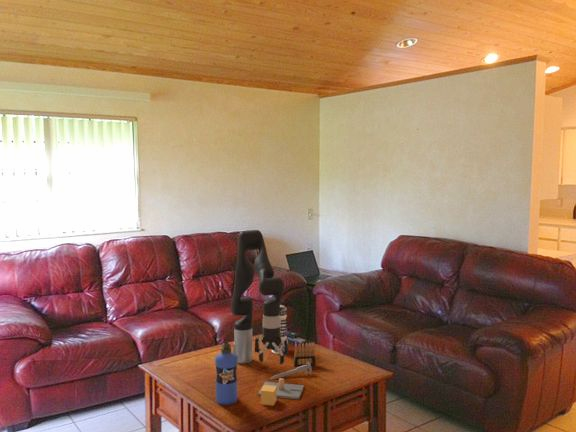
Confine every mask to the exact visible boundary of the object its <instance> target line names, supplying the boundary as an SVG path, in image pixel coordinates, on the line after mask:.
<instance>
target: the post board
mask: <svg viewBox="0 0 576 432" xmlns="http://www.w3.org/2000/svg"><path fill="white" fill-rule="evenodd" d="M264 385H270V386H277V398H279V399H280V398H282V399H292V400H300V397H301V395H302V393H303V391H304V388H305V385H303V384H295V383H285V378H283V377H280V378H278V382H274V381H273V382H272V381H270V382H269V381H264V383H263V384H262V386H261V387H260V390H259V391H258V394H257V395H258V396H259V397H261V389H262V388H263V386H264Z"/></svg>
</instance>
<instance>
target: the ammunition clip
mask: <svg viewBox="0 0 576 432" xmlns="http://www.w3.org/2000/svg"><path fill="white" fill-rule="evenodd" d="M315 348H316V347H315V342H314V341H313V342H312V343H311V342H309V344H308V342H302V344H301V343H300V342H298V344H297V342H295V344H294V352H293V353H294V356H293V357H294V360H293V367H294V368H297V367H300V366H303V365H306V363H307V364H308V362H309V364H311V367H315V366H316V349H315Z"/></svg>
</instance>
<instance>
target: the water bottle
mask: <svg viewBox="0 0 576 432" xmlns="http://www.w3.org/2000/svg"><path fill="white" fill-rule="evenodd" d="M231 346H232V345H231V344H230V343H229V342H227V341H226V342H223V344H222V345H221V350H220V352H221V353H218V354H217V355H215V356H214V357H215V359H214V362H215V363H214V364H215V371H216V377H215V378H216V380H215V401H216V403H217V404H218V405H221V406H229V405H233V404H235V403H237V401H238V376H237V370H238V369H237V368H238V363H237V355H236V354H233V352H232V347H231Z"/></svg>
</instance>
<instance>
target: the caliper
mask: <svg viewBox="0 0 576 432" xmlns="http://www.w3.org/2000/svg"><path fill="white" fill-rule="evenodd" d="M312 368H313V366H311V364H309V362H308V364H307V363H306V365H303V366H300V367H295V368H294V369H290V370H288V371H287V370H286V371H284V372H281V373H278V374H275V375H272V376H270V380H275V379H276V380H277V379H280V378H283V377H286V376H290V375H292V374H296V373H298V374H301V373H302V372H305V374H306V375H309V374H310V375H312V373H313V372H312V371H313V369H312ZM308 370H309V372H308Z"/></svg>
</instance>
